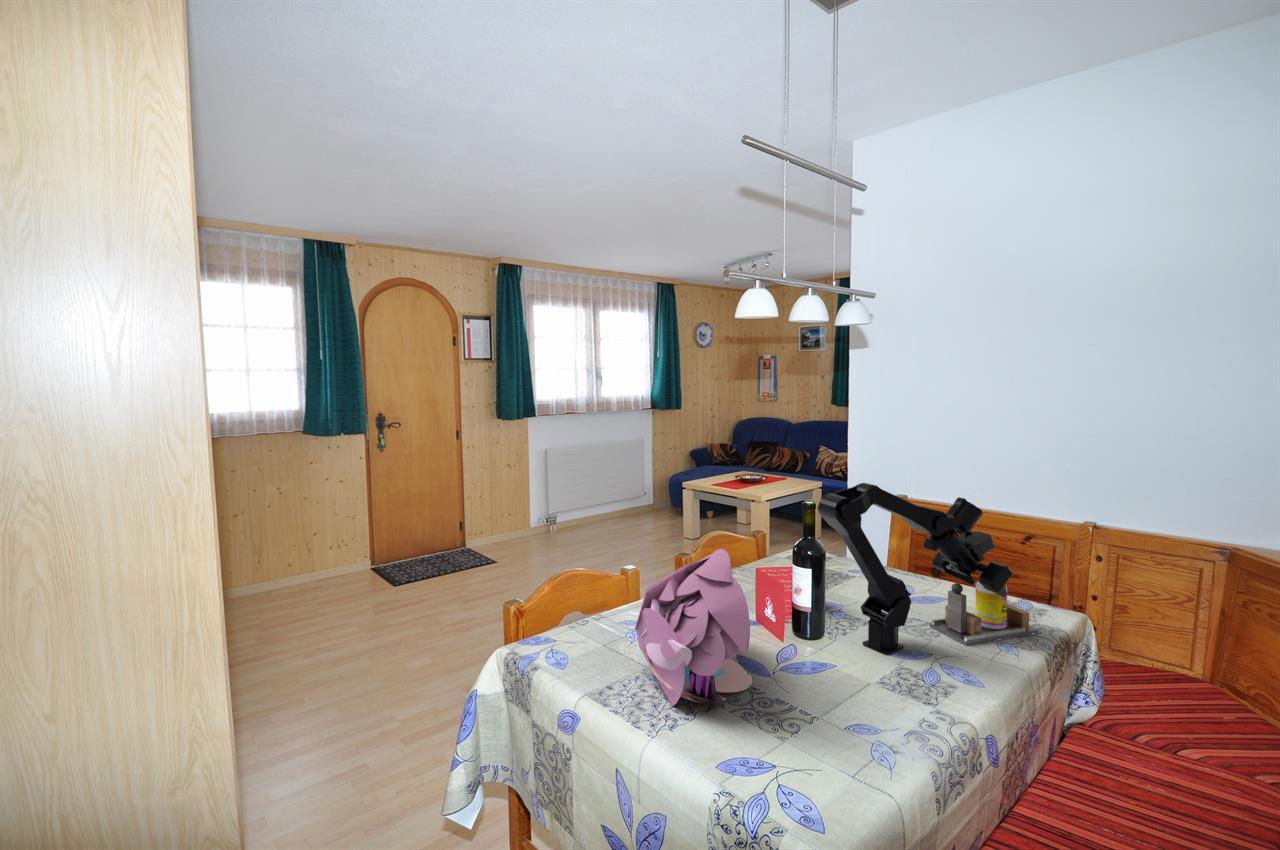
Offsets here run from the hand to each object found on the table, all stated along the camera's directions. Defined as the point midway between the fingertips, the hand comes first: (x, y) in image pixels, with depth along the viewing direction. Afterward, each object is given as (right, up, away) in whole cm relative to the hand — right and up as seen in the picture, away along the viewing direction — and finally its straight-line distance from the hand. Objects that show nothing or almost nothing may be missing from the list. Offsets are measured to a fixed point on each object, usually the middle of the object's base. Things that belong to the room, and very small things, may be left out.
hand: (988, 589), depth 142 cm
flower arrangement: (-71, -13, -20) cm, 75 cm away
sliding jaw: (-8, -9, -2) cm, 12 cm away
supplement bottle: (+1, -9, +1) cm, 9 cm away
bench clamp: (-1, -10, 0) cm, 10 cm away
